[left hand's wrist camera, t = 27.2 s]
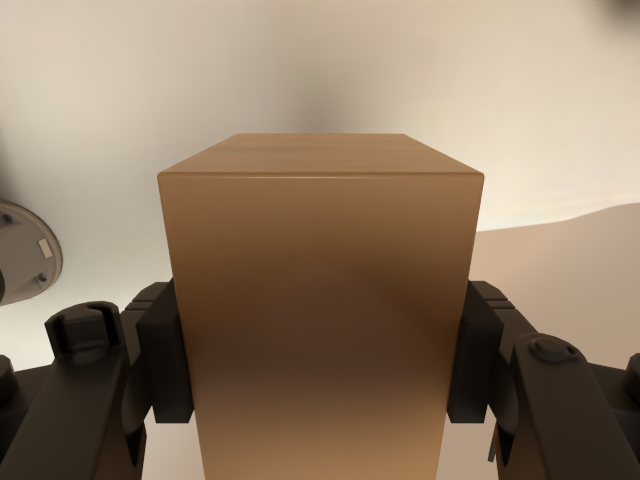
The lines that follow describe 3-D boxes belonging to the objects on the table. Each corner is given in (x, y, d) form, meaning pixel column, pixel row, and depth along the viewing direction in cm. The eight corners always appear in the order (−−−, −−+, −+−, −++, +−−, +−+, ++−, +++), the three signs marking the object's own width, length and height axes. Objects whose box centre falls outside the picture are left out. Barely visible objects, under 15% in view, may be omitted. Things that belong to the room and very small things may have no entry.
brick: (388, 334, 17) (434, 495, 10) (251, 334, 17) (206, 494, 10) (405, 133, 14) (487, 173, 7) (235, 133, 14) (154, 173, 7)
